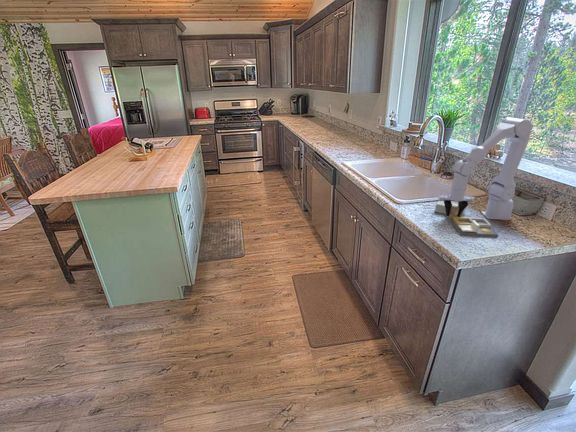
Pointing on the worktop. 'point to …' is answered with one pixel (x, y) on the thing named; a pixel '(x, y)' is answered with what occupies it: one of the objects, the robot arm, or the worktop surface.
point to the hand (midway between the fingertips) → (452, 215)
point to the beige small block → (453, 212)
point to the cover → (470, 227)
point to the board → (483, 228)
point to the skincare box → (441, 208)
